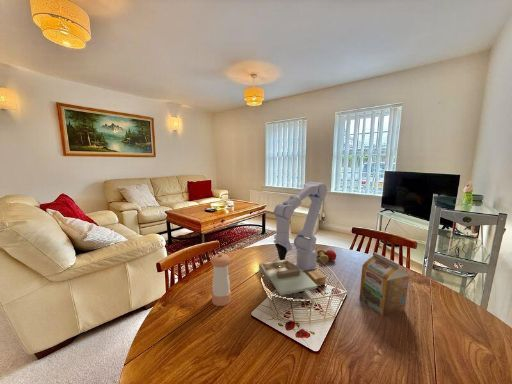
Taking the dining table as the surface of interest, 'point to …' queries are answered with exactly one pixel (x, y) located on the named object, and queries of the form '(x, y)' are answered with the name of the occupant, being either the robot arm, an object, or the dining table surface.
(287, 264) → the toolbox
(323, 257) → the kendama
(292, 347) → the dining table surface
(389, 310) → the milk carton
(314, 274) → the tan block
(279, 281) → the lid
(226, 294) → the salt shaker
